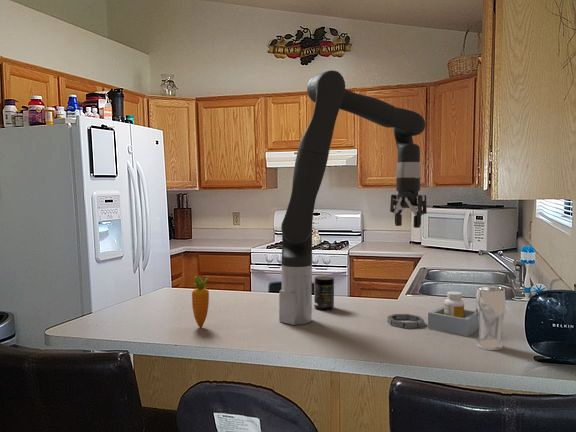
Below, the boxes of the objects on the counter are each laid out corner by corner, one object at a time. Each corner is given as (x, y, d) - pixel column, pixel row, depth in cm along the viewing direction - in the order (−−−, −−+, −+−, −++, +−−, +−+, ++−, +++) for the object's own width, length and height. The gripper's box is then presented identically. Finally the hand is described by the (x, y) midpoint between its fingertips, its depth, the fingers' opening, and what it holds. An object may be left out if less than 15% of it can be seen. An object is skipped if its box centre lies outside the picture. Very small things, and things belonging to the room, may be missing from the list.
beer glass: (502, 353, 115) (503, 292, 114) (472, 347, 119) (473, 289, 118) (505, 345, 121) (507, 287, 120) (477, 340, 125) (478, 284, 124)
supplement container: (338, 309, 157) (338, 278, 157) (321, 311, 154) (321, 280, 153) (326, 305, 163) (326, 275, 162) (310, 307, 160) (310, 277, 159)
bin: (466, 336, 128) (467, 319, 128) (427, 328, 136) (428, 312, 135) (481, 327, 137) (481, 312, 136) (443, 320, 144) (444, 305, 144)
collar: (413, 330, 134) (413, 324, 134) (382, 323, 140) (382, 318, 140) (428, 322, 141) (428, 317, 141) (398, 316, 148) (398, 312, 148)
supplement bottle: (465, 325, 137) (466, 292, 136) (461, 329, 132) (462, 295, 132) (446, 322, 140) (447, 289, 139) (441, 326, 135) (442, 293, 135)
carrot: (212, 326, 137) (212, 275, 136) (204, 330, 132) (203, 278, 132) (197, 324, 139) (197, 274, 138) (188, 329, 134) (188, 277, 133)
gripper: (384, 177, 156) (384, 225, 157) (415, 176, 143) (414, 228, 144) (401, 177, 159) (401, 225, 160) (433, 176, 147) (432, 227, 148)
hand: (407, 226), depth 152 cm, fingers open, 8 cm apart
